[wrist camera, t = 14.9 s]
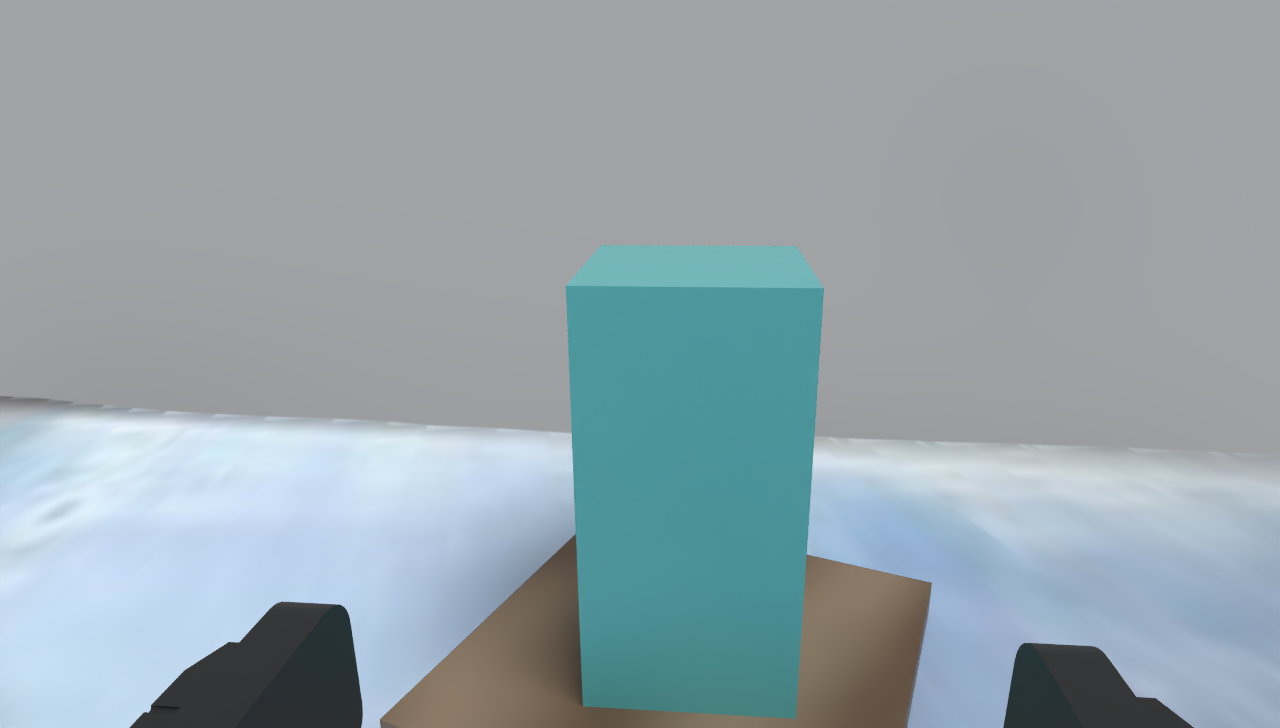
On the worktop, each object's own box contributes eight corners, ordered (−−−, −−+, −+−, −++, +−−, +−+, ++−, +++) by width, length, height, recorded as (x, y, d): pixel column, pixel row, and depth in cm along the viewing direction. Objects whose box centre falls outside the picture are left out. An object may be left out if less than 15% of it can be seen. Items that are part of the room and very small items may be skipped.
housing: (778, 591, 24) (796, 245, 21) (795, 718, 19) (823, 288, 16) (609, 584, 25) (601, 245, 21) (582, 706, 20) (565, 286, 16)
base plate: (928, 614, 25) (931, 583, 25) (862, 964, 15) (867, 918, 14) (603, 535, 30) (603, 508, 30) (385, 757, 20) (380, 719, 19)
